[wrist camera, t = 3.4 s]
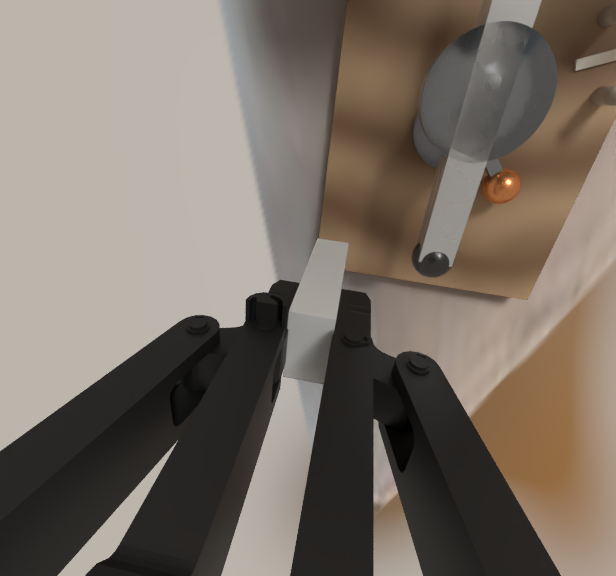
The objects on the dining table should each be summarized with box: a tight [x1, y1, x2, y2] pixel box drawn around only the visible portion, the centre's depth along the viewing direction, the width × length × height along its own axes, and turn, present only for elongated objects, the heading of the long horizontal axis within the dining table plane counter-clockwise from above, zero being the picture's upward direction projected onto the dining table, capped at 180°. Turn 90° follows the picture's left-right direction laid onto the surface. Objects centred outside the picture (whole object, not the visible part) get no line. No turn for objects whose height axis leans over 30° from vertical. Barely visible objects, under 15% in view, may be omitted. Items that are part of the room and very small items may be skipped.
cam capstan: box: [411, 0, 557, 278], centre depth 20 cm, size 21×8×7 cm, turn 174°
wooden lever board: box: [319, 0, 616, 300], centre depth 24 cm, size 22×18×5 cm
